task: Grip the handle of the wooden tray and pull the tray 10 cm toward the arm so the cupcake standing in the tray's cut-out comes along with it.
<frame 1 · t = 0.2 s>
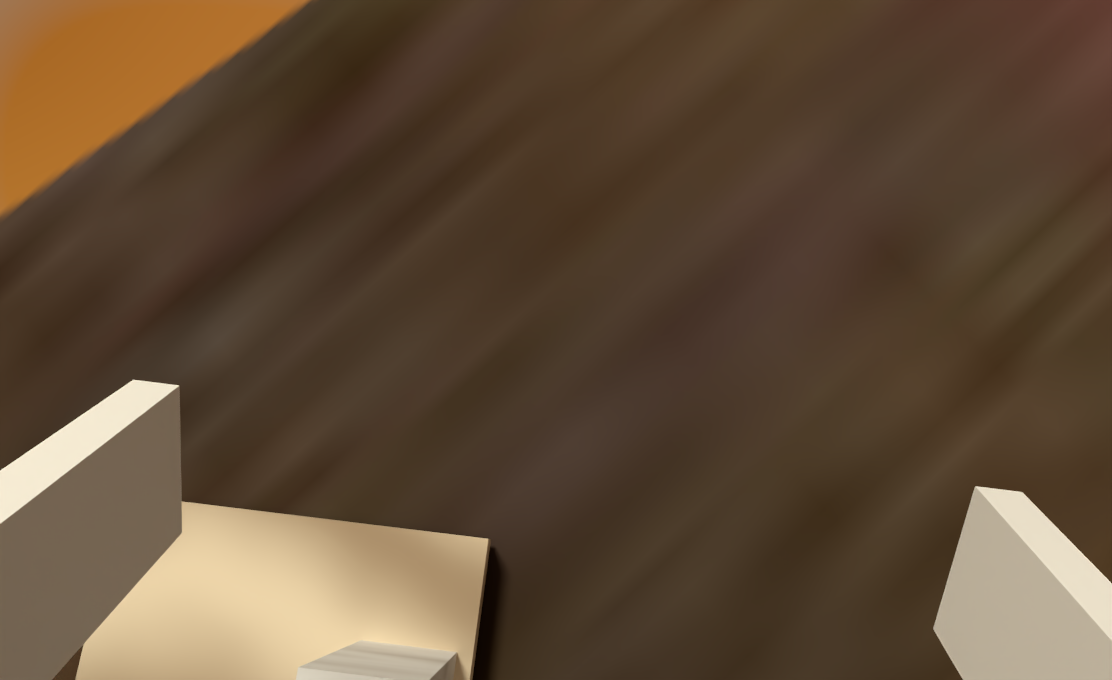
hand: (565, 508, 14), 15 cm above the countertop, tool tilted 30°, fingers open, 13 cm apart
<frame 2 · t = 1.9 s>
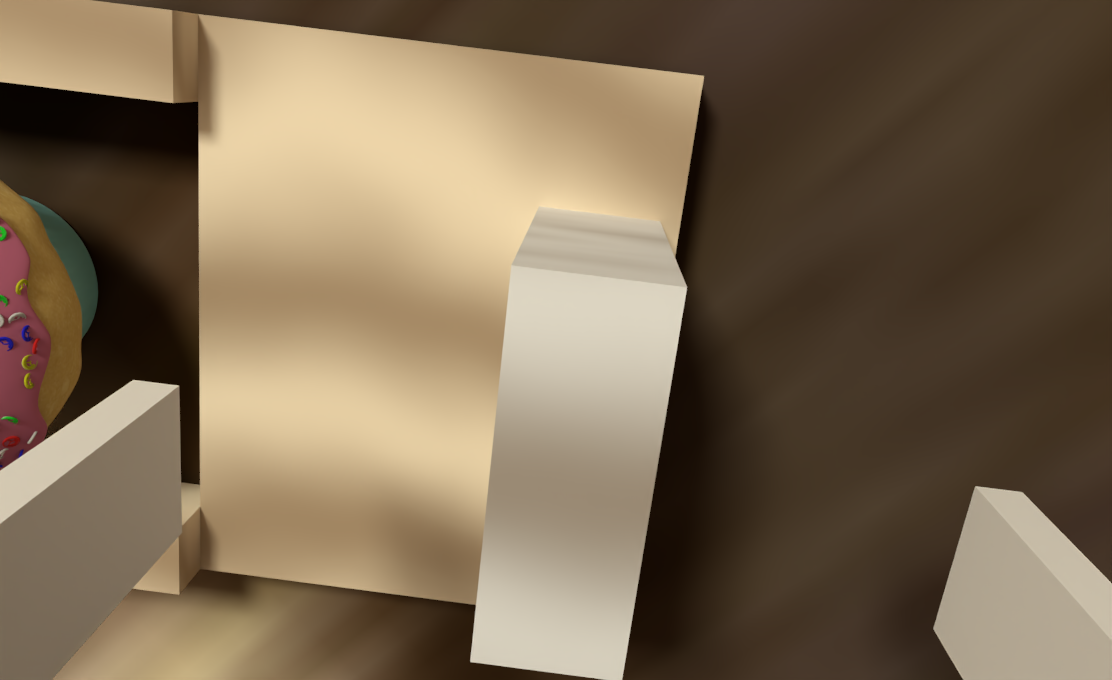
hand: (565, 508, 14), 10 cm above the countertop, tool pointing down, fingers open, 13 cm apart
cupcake: (15, 275, 24), resting in wooden tray
wooden tray: (100, 346, 20), point 4 cm above the countertop, slide at 0.0 cm
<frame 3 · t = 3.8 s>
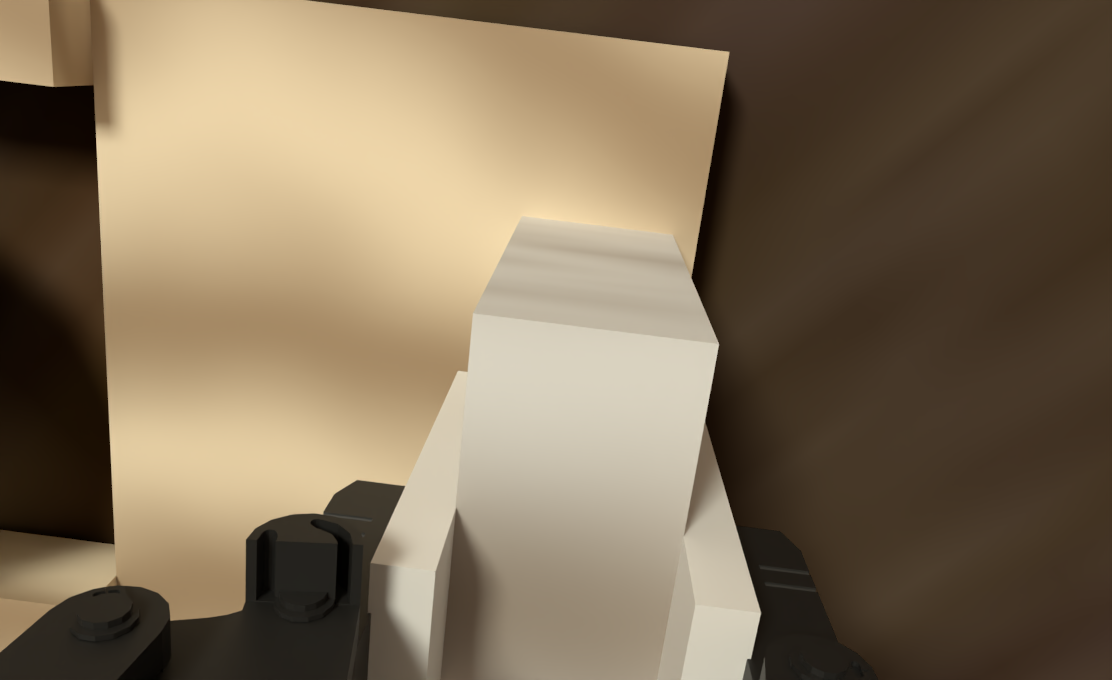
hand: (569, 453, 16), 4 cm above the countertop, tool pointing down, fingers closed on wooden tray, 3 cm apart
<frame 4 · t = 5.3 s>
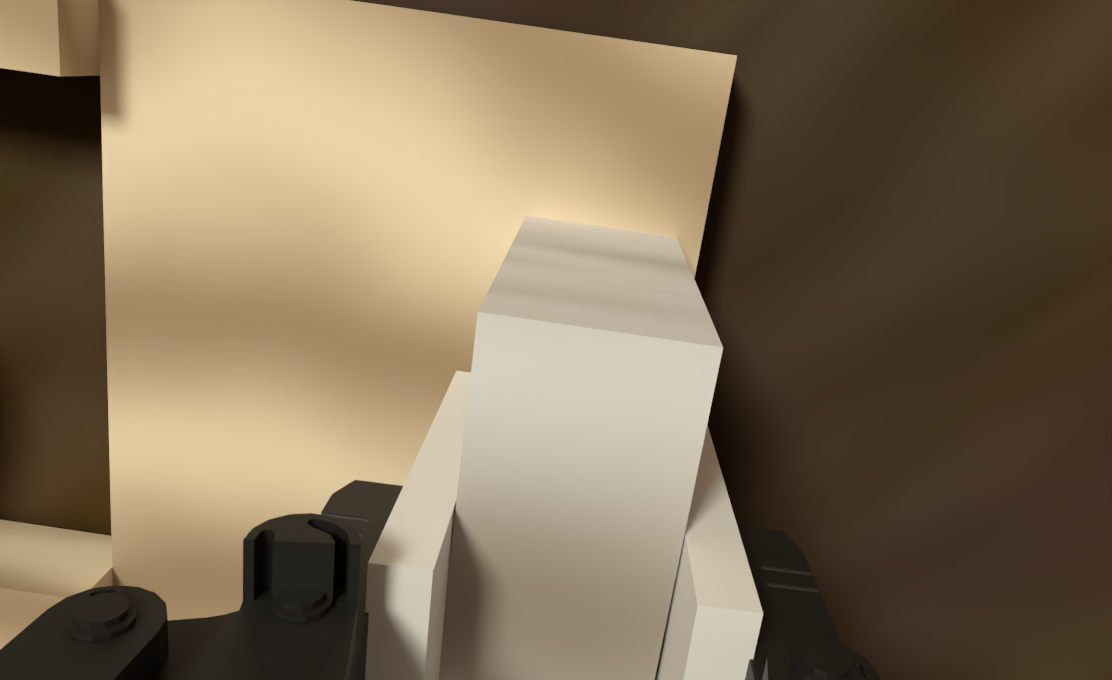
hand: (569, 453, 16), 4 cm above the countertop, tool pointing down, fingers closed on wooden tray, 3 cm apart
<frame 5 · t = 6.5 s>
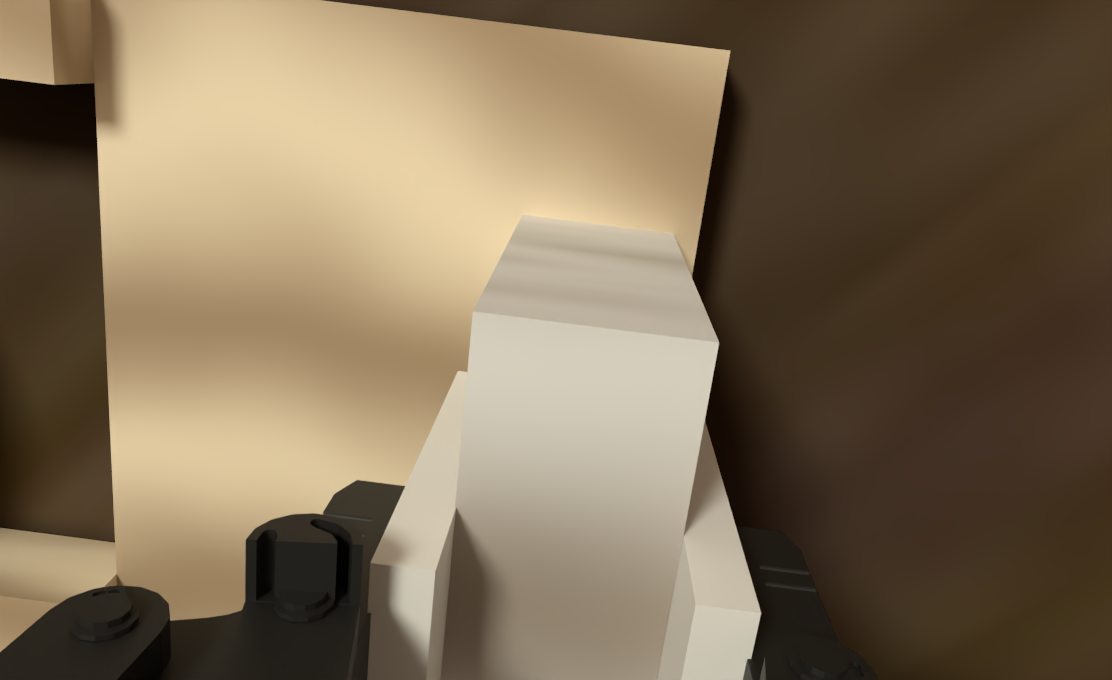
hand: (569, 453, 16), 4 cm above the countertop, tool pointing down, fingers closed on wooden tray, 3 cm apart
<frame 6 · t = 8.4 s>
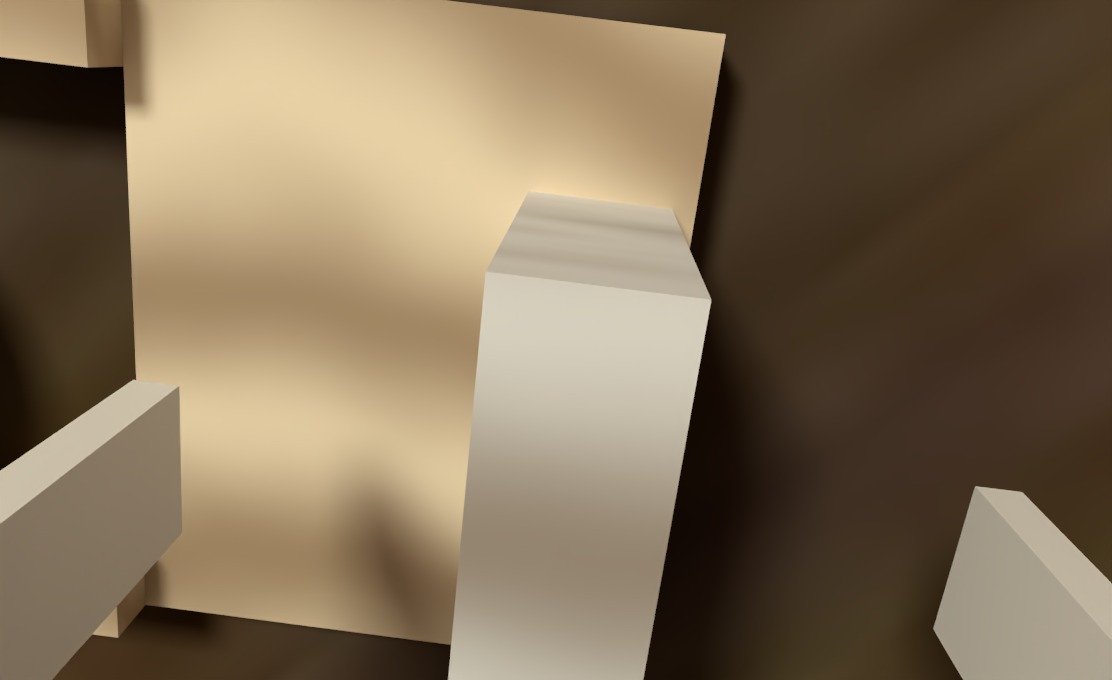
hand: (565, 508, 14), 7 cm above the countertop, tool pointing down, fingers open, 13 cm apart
wooden tray: (5, 359, 17), point 4 cm above the countertop, slide at 9.9 cm
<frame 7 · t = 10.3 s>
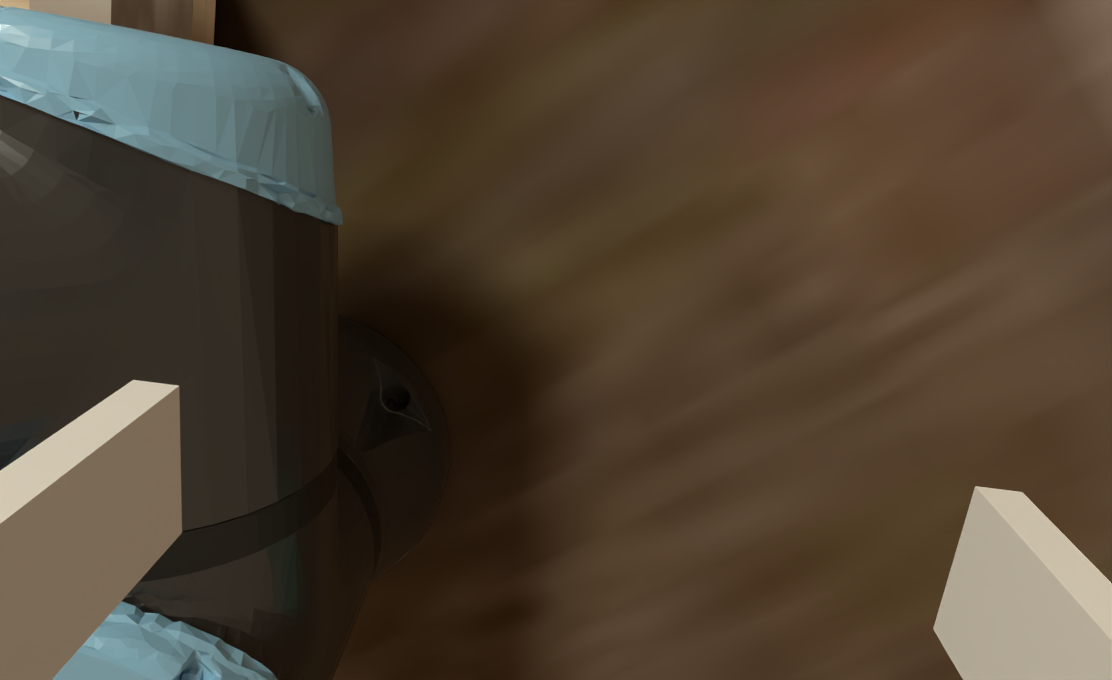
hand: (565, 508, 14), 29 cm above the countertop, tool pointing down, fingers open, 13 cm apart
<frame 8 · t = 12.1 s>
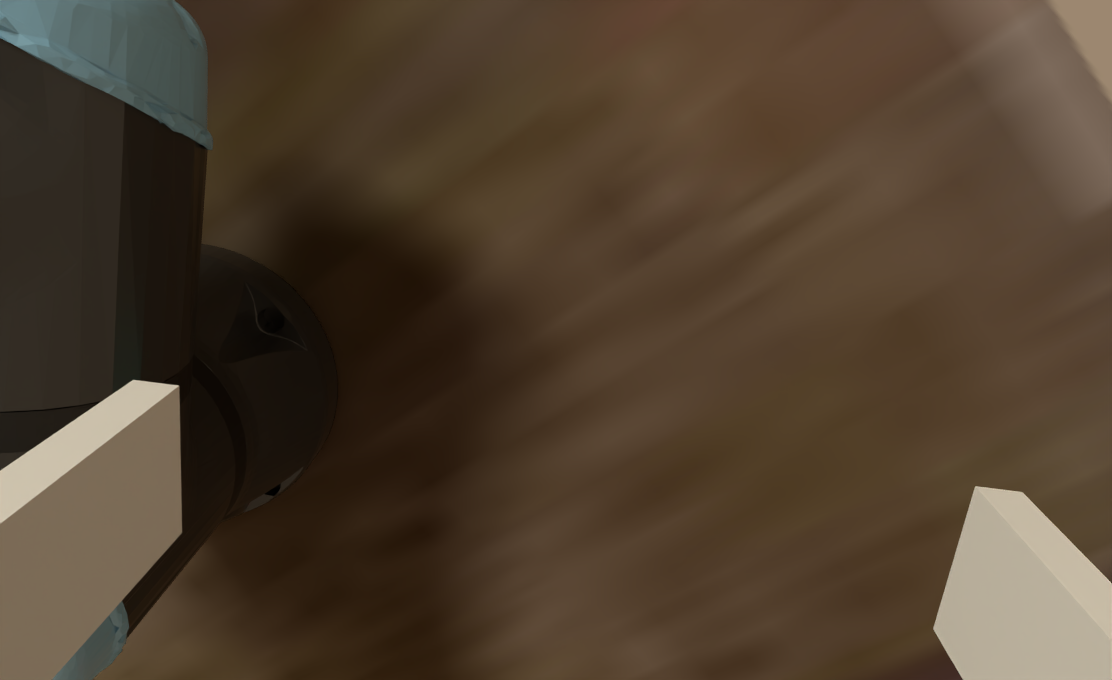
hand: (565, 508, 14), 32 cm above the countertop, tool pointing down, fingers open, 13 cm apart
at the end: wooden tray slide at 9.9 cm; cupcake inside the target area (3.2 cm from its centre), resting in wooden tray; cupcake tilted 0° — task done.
